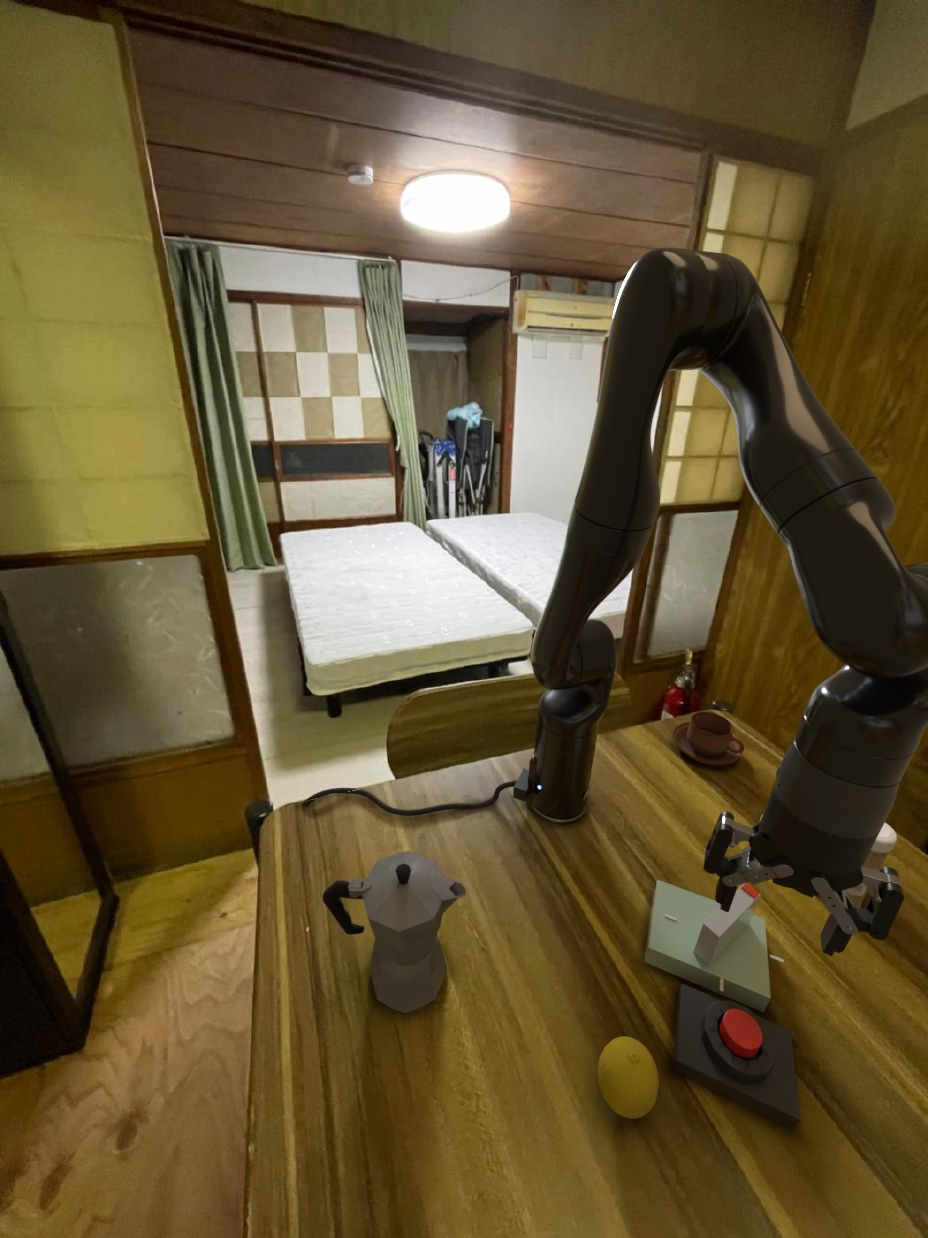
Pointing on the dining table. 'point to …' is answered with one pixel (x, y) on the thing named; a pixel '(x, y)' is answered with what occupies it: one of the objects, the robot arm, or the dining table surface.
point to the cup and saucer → (708, 739)
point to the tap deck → (675, 939)
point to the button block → (735, 1058)
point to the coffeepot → (401, 925)
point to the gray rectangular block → (726, 924)
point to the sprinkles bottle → (874, 861)
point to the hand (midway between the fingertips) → (773, 924)
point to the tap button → (741, 1033)
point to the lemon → (628, 1077)
